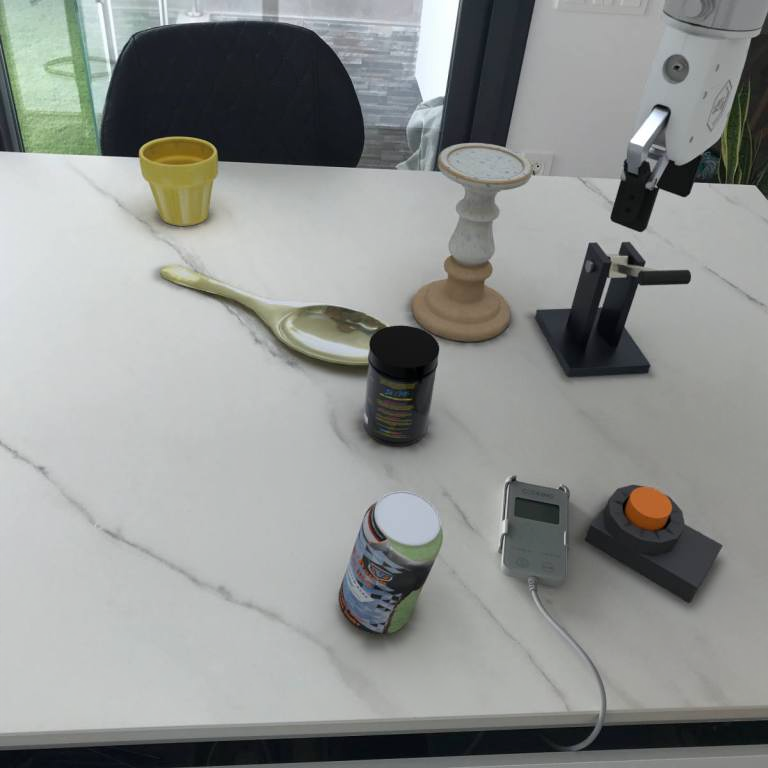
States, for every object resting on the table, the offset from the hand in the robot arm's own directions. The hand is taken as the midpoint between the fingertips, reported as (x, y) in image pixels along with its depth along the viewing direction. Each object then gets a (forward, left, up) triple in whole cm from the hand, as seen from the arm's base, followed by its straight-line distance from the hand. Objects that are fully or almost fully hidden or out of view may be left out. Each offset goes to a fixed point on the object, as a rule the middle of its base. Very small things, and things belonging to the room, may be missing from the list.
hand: (650, 208), depth 70 cm
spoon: (+36, +13, -24) cm, 45 cm away
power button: (-12, +15, -20) cm, 28 cm away
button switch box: (-14, +15, -24) cm, 31 cm away
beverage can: (0, +36, -24) cm, 43 cm away
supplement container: (+13, +18, -24) cm, 32 cm away
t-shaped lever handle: (+1, -7, -12) cm, 14 cm away
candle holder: (+20, -4, -24) cm, 32 cm away
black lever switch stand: (+5, -10, -24) cm, 26 cm away
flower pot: (+63, +4, -24) cm, 68 cm away
